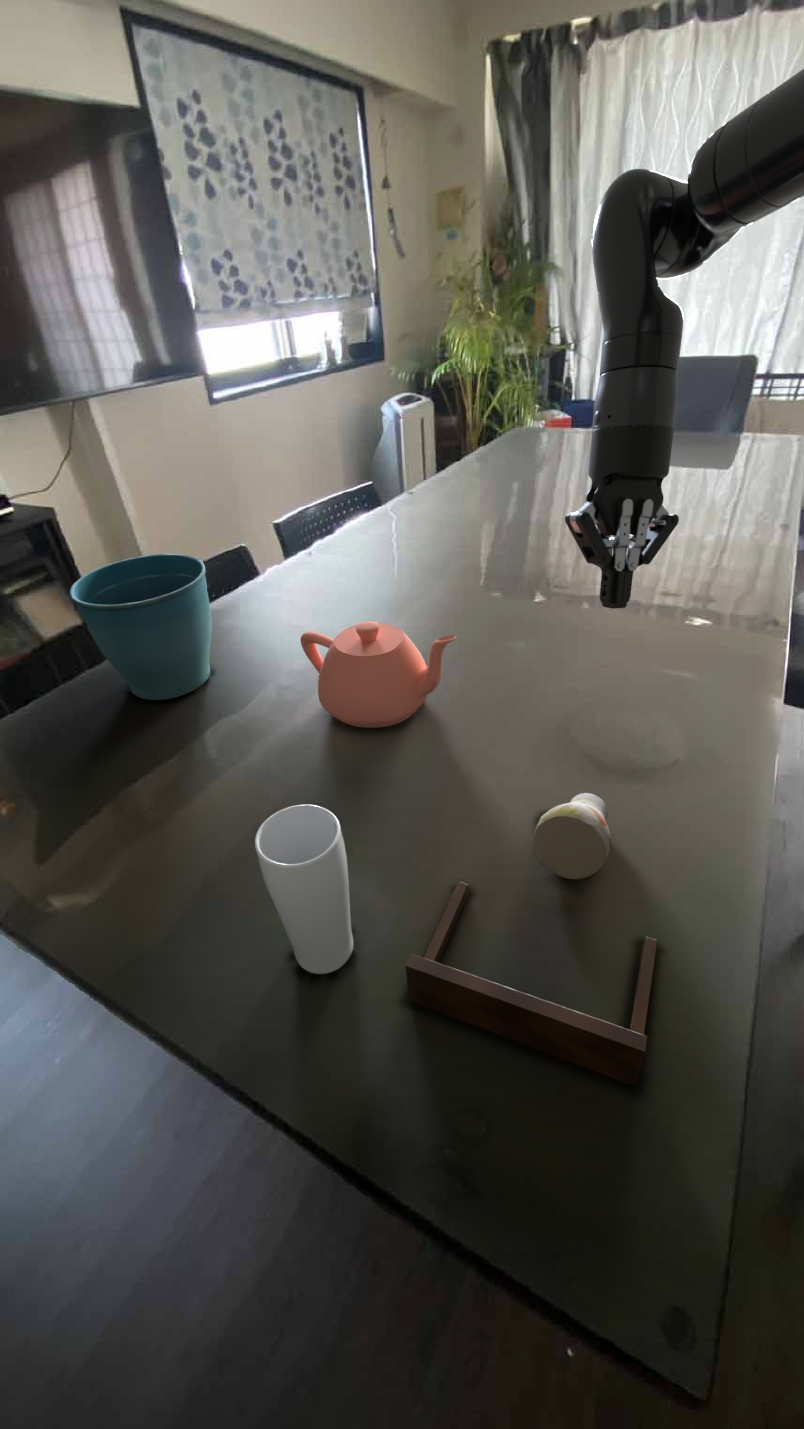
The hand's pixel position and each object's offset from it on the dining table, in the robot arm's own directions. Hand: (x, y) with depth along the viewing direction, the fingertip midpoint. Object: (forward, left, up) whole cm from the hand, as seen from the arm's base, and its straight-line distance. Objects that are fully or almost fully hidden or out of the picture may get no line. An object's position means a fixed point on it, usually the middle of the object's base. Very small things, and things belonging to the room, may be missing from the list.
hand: (614, 607), depth 67 cm
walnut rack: (-1, +31, -19) cm, 37 cm away
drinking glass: (+17, +36, -19) cm, 45 cm away
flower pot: (+63, +3, -19) cm, 66 cm away
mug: (-1, +16, -19) cm, 25 cm away
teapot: (+29, -1, -19) cm, 35 cm away
